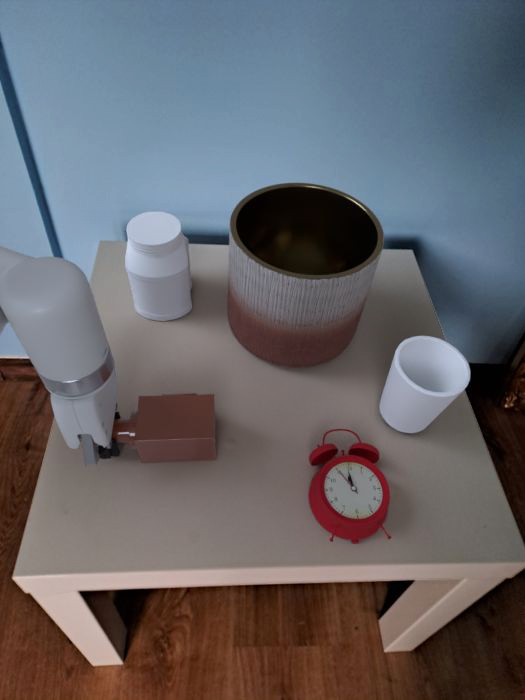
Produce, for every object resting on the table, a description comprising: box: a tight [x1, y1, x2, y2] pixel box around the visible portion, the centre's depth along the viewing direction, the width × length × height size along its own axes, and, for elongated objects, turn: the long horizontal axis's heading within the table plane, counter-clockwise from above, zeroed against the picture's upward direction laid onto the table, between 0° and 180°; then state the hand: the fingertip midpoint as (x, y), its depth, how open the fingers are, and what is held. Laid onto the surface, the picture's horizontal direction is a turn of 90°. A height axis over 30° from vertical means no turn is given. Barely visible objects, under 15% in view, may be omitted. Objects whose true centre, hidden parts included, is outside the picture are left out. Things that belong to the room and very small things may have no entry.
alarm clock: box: [308, 428, 392, 545], centre depth 60 cm, size 10×6×15 cm
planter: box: [227, 182, 385, 369], centre depth 72 cm, size 22×22×20 cm
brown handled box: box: [111, 393, 217, 464], centre depth 62 cm, size 7×9×16 cm
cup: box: [378, 335, 471, 435], centre depth 64 cm, size 10×10×13 cm
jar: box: [124, 210, 193, 322], centre depth 75 cm, size 12×10×15 cm
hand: (109, 440), depth 63 cm, fingers closed on brown handled box, 3 cm apart
